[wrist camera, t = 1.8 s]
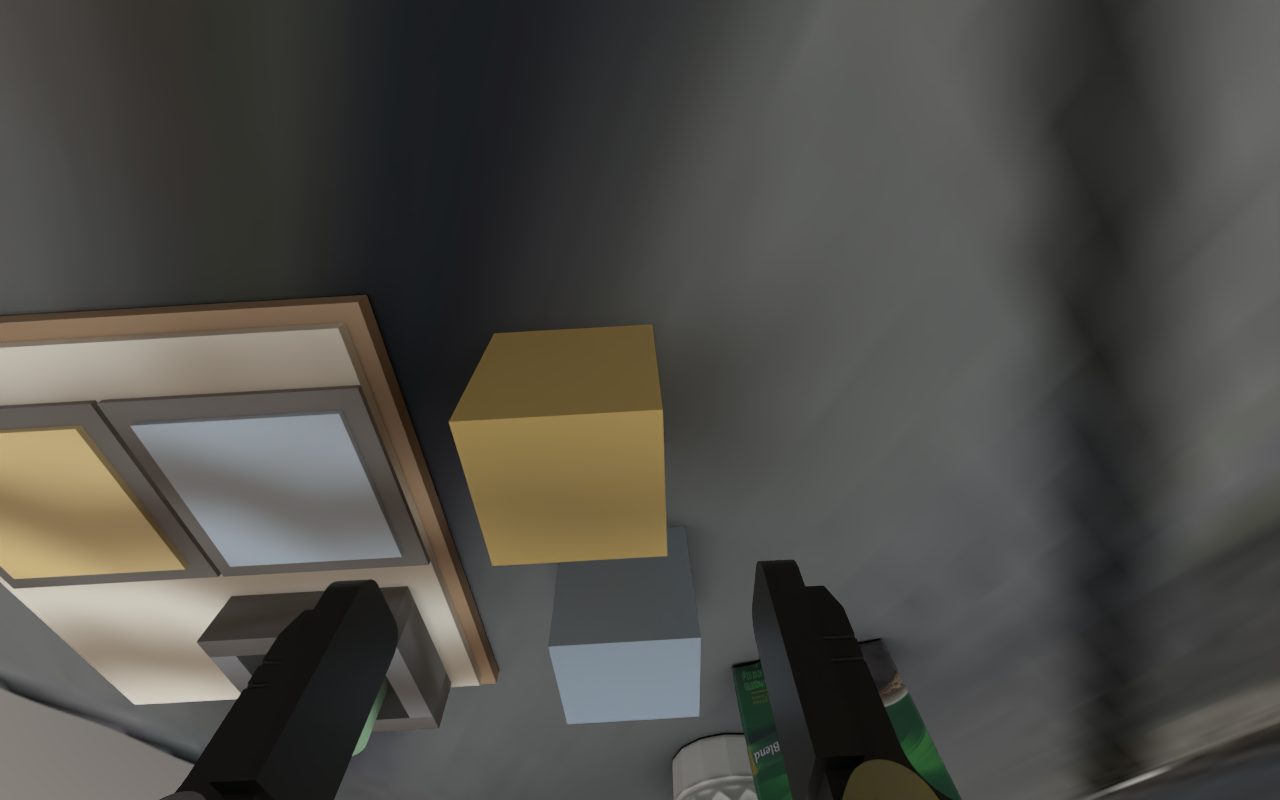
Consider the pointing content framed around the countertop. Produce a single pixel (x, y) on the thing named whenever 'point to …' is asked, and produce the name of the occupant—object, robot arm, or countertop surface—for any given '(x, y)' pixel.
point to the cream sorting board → (223, 495)
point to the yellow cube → (566, 445)
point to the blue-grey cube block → (627, 637)
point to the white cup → (714, 770)
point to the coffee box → (897, 704)
